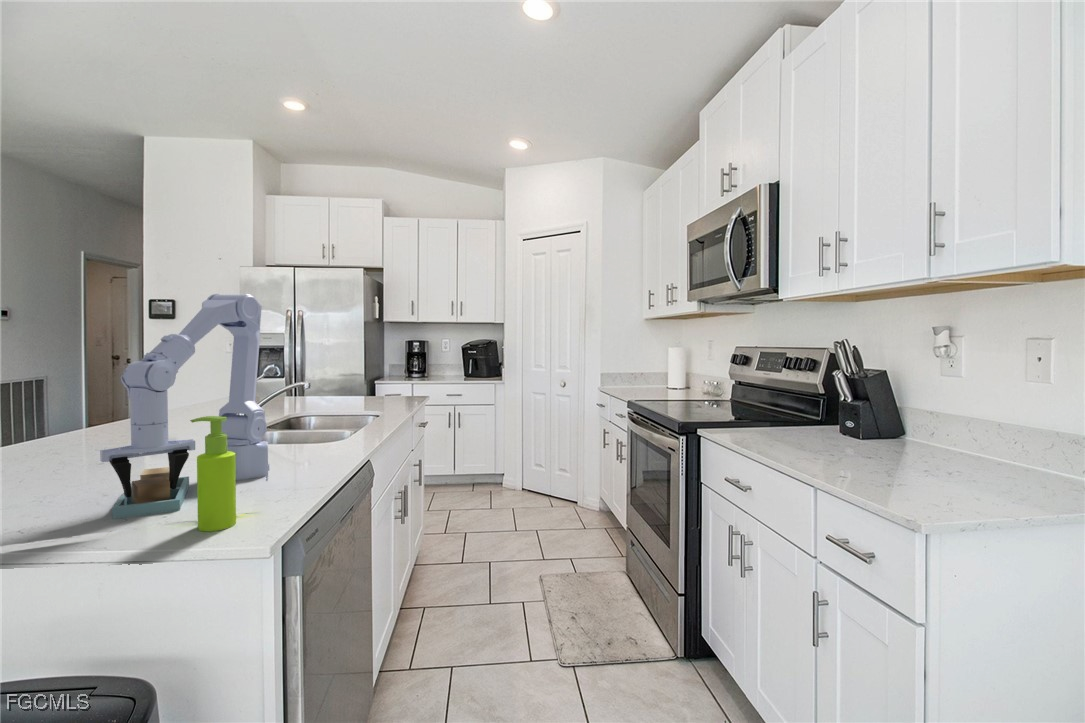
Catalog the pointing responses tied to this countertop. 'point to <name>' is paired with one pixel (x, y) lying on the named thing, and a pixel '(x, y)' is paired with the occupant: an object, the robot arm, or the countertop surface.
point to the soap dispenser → (216, 480)
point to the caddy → (174, 504)
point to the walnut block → (150, 490)
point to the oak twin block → (155, 473)
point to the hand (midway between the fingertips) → (150, 491)
